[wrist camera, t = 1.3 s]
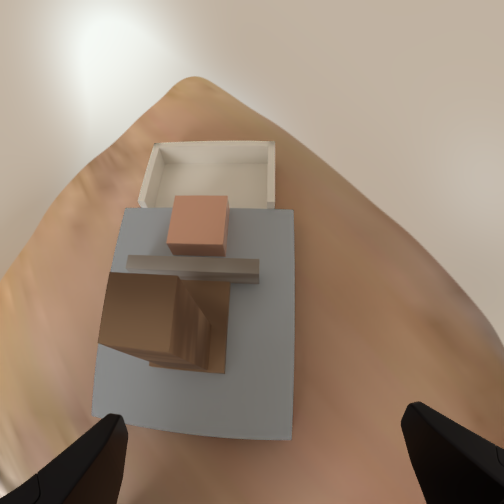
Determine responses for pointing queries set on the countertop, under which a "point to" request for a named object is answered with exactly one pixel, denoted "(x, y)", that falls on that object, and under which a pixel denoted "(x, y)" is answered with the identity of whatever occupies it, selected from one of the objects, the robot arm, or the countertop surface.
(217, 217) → the tile
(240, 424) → the board
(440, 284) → the countertop surface
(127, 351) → the scraper
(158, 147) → the tray
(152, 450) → the countertop surface
